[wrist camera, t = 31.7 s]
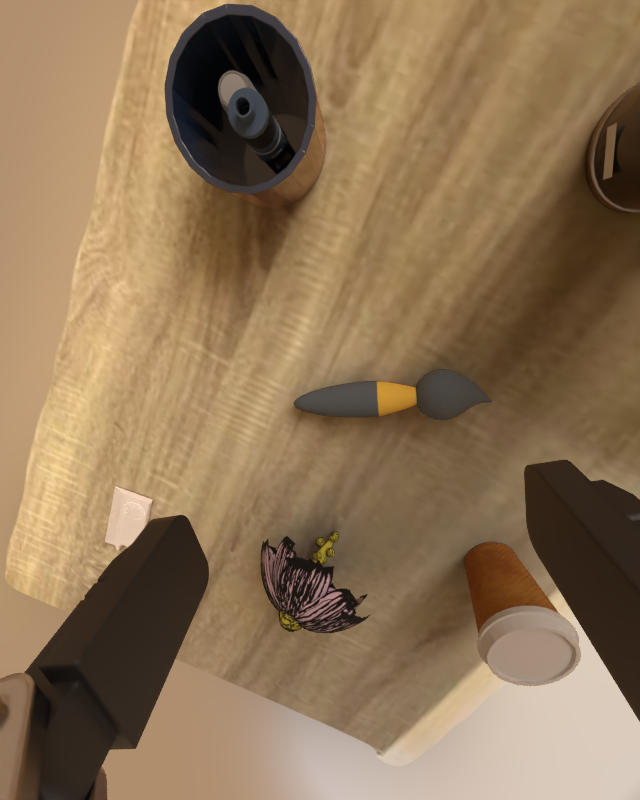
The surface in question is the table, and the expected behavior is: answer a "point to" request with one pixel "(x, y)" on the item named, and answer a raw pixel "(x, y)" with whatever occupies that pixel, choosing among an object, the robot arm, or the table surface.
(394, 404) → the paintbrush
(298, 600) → the decorative flower
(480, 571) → the disposable coffee cup
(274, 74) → the pen cup
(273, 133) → the vaping device
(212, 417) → the table surface
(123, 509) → the white plastic blade
